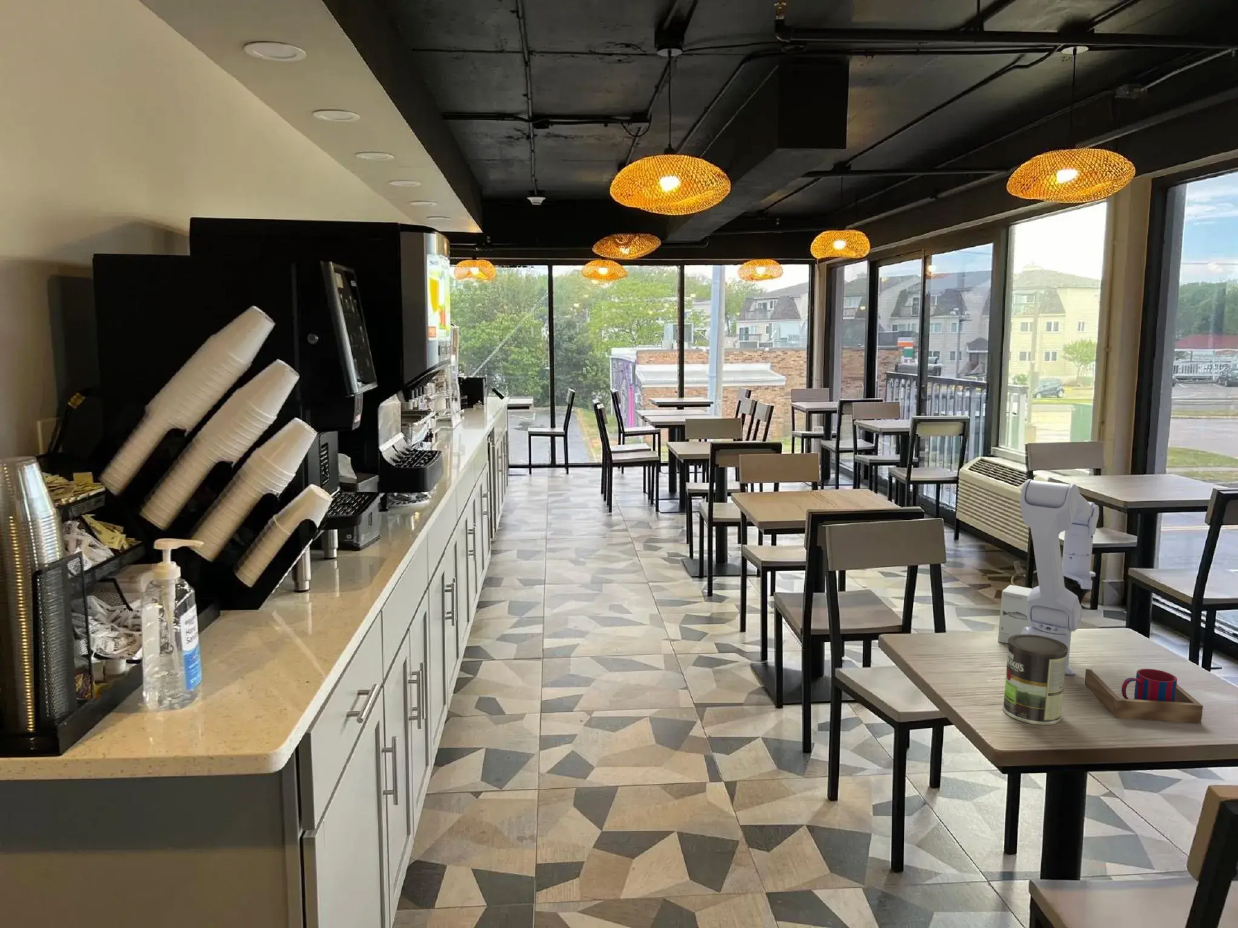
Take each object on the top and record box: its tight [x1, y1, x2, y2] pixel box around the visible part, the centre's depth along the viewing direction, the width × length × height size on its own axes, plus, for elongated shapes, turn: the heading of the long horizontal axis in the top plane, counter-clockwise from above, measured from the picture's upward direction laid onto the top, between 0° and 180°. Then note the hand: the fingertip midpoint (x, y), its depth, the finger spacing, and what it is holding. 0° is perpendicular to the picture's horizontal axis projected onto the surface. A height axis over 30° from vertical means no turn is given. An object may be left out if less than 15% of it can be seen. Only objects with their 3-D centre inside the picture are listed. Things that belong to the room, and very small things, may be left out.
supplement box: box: [997, 584, 1033, 644], centre depth 203 cm, size 7×7×13 cm
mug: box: [1121, 668, 1178, 702], centre depth 167 cm, size 7×10×7 cm
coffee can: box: [1002, 634, 1068, 726], centre depth 164 cm, size 10×10×14 cm
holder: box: [1084, 668, 1204, 724], centre depth 170 cm, size 15×16×4 cm
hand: (1072, 610), depth 197 cm, fingers closed
